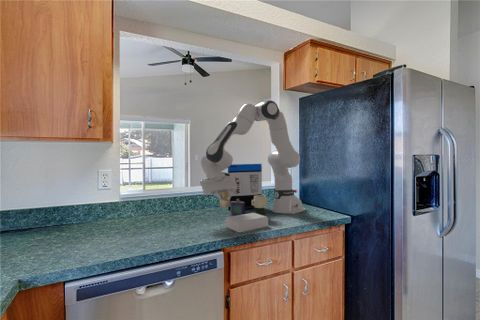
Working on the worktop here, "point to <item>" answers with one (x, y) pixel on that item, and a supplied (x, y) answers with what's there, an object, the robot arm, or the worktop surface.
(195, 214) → the worktop surface
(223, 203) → the maple block
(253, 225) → the grey box
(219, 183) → the robot arm
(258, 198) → the character mug
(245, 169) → the protein powder
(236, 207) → the flask
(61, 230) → the worktop surface
